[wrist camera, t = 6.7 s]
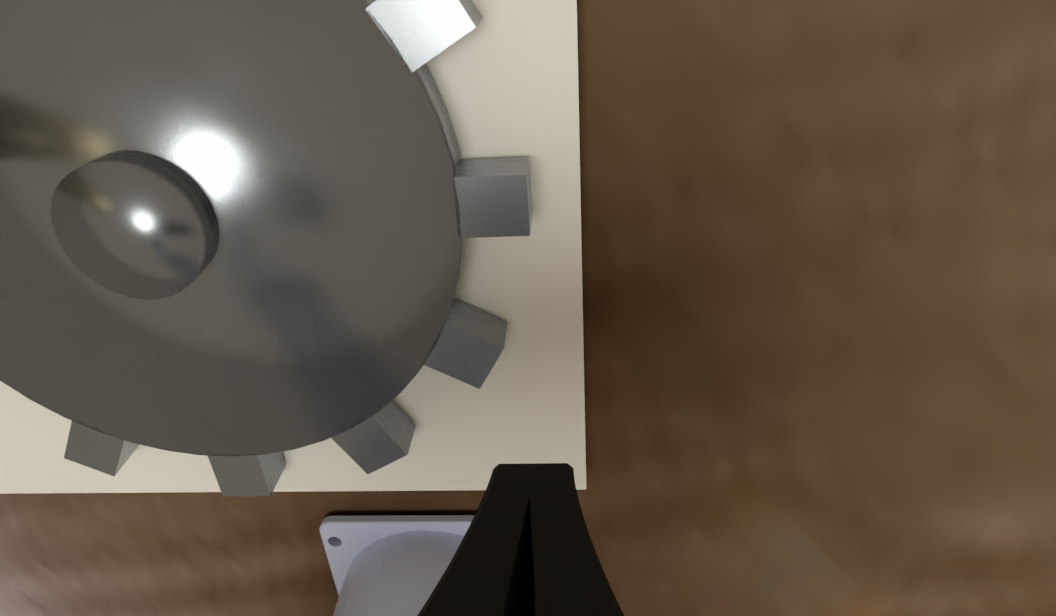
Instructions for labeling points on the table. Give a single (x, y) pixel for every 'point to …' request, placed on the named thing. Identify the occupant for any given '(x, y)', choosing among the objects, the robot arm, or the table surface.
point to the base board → (485, 282)
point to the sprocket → (238, 225)
